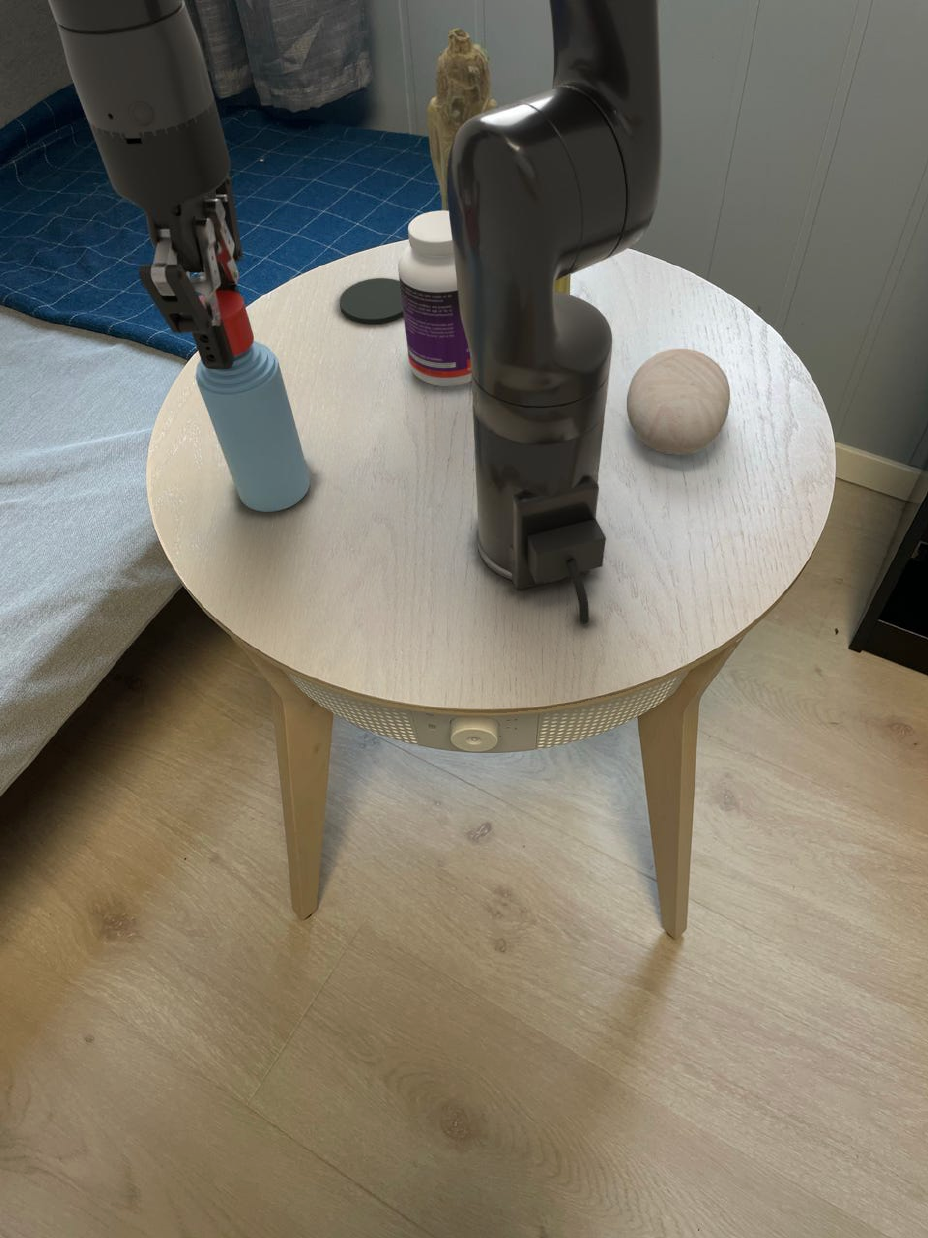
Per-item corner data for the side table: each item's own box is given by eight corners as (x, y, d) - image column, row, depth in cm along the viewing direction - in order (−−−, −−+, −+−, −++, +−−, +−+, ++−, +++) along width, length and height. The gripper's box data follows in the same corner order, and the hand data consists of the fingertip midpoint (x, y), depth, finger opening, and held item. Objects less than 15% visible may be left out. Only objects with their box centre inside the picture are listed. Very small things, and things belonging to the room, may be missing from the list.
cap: (197, 359, 63) (184, 322, 60) (205, 328, 65) (193, 291, 63) (250, 356, 63) (239, 319, 60) (257, 325, 65) (246, 288, 62)
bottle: (316, 501, 74) (269, 328, 60) (243, 519, 73) (178, 348, 60) (303, 454, 78) (256, 281, 64) (234, 471, 77) (171, 298, 63)
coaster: (421, 315, 91) (421, 310, 90) (348, 330, 90) (347, 325, 89) (403, 276, 96) (403, 272, 95) (334, 291, 95) (333, 286, 94)
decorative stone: (639, 373, 83) (646, 328, 79) (733, 388, 81) (744, 343, 77) (609, 458, 76) (615, 413, 72) (711, 478, 74) (723, 432, 70)
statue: (505, 268, 96) (503, 6, 76) (500, 310, 91) (497, 41, 71) (444, 267, 96) (427, 8, 77) (436, 310, 91) (416, 43, 72)
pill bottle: (481, 395, 82) (476, 253, 71) (401, 387, 83) (383, 247, 72) (496, 345, 87) (493, 205, 76) (420, 339, 88) (406, 200, 77)
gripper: (125, 54, 55) (203, 295, 69) (43, 155, 47) (151, 408, 60) (238, 50, 55) (294, 295, 68) (176, 153, 46) (254, 409, 60)
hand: (227, 347), depth 64 cm, fingers closed on cap, 4 cm apart
